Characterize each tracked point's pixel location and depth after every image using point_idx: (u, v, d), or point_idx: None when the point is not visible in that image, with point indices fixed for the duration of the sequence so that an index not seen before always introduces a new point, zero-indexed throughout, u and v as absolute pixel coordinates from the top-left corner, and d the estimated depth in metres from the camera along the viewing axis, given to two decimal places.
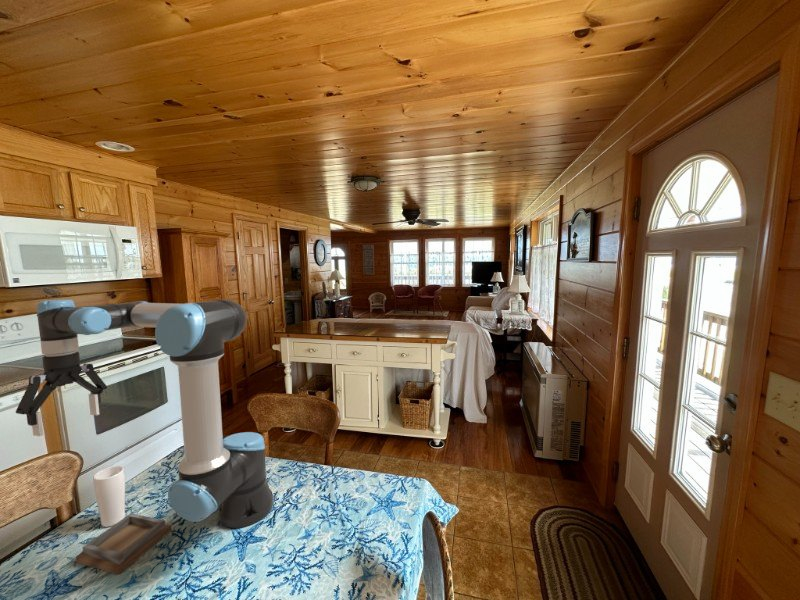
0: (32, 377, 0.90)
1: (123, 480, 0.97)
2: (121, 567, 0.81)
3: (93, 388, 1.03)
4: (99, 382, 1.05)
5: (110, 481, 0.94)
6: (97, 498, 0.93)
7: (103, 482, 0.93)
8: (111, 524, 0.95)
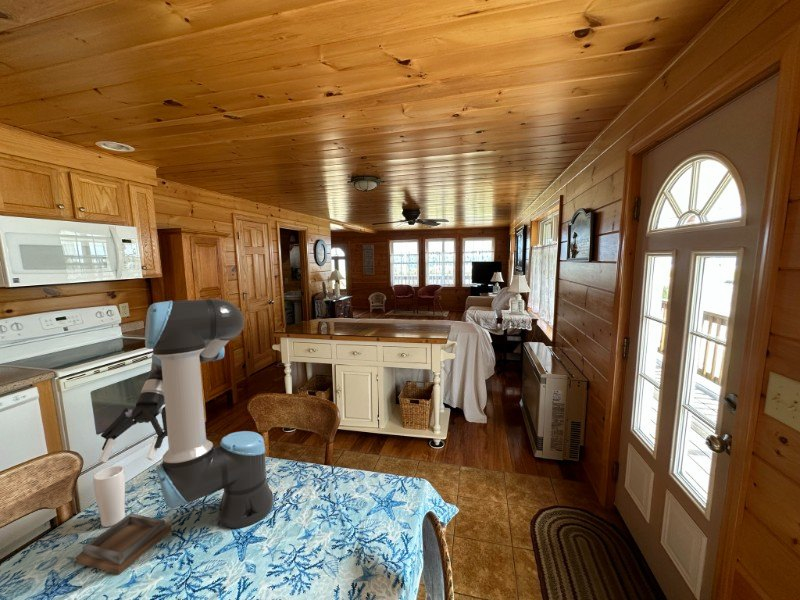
0: None
1: (123, 480, 0.97)
2: (121, 567, 0.81)
3: (156, 429, 1.09)
4: (164, 425, 1.10)
5: (110, 481, 0.94)
6: (97, 498, 0.93)
7: (103, 482, 0.93)
8: (111, 524, 0.95)
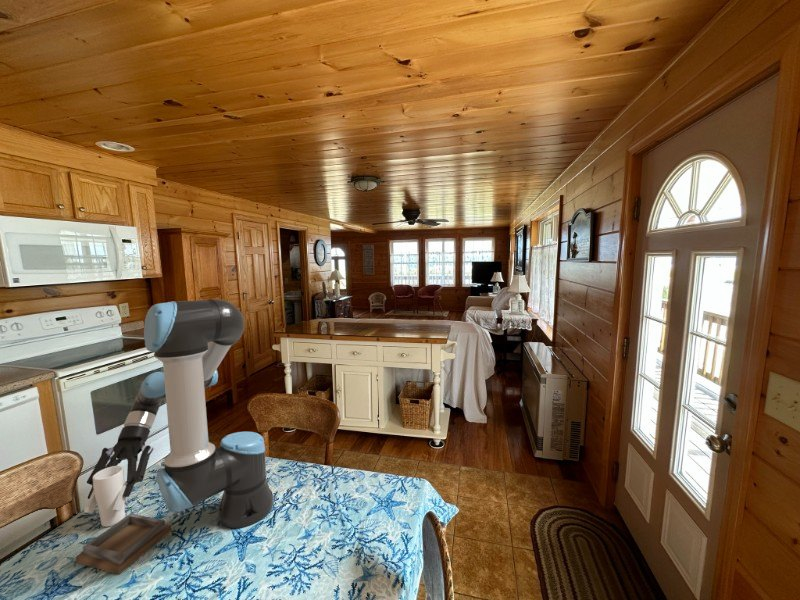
0: None
1: (122, 480, 0.97)
2: (121, 567, 0.81)
3: (129, 474, 0.99)
4: (138, 469, 1.00)
5: (109, 481, 0.93)
6: (97, 498, 0.93)
7: (103, 482, 0.93)
8: (111, 524, 0.95)
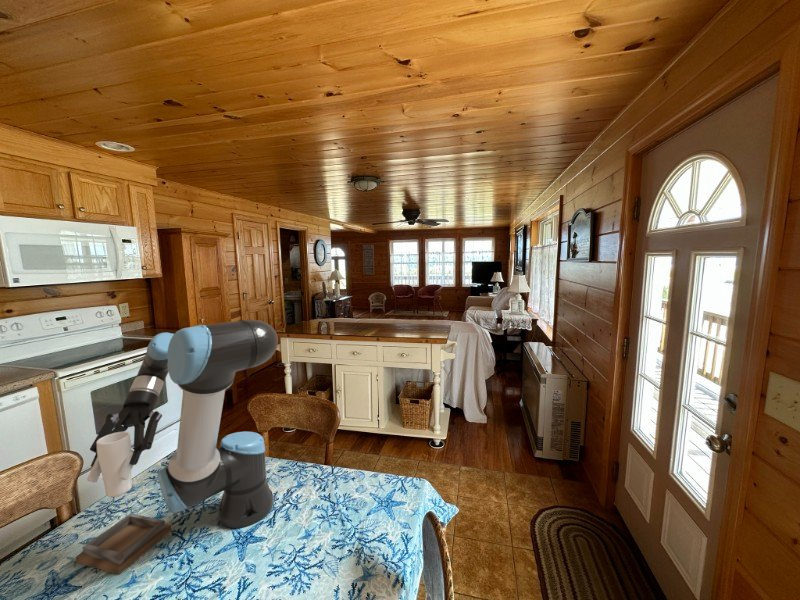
0: None
1: (129, 446, 0.88)
2: (121, 567, 0.81)
3: (136, 440, 0.90)
4: (145, 435, 0.91)
5: (115, 446, 0.85)
6: (101, 465, 0.85)
7: (108, 447, 0.84)
8: (117, 494, 0.86)
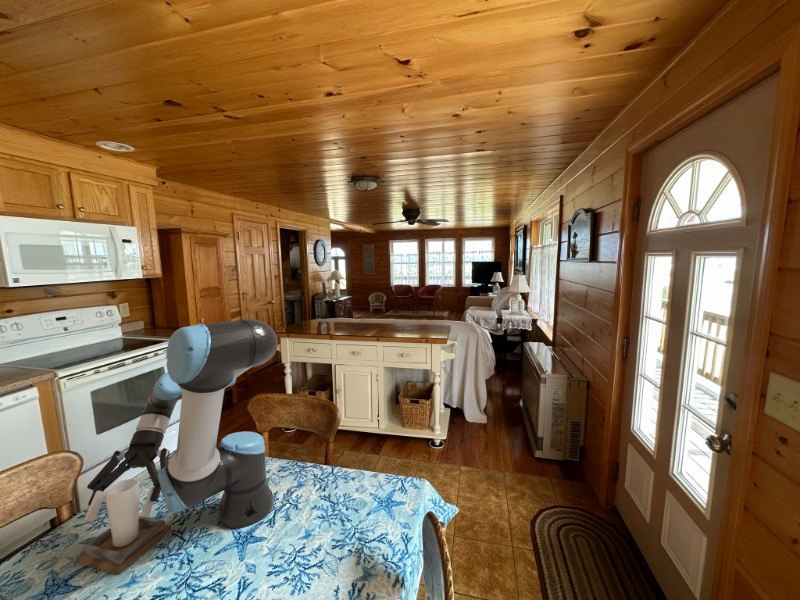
0: None
1: (138, 495, 0.88)
2: (121, 567, 0.81)
3: (153, 478, 0.90)
4: None
5: (124, 496, 0.85)
6: (109, 515, 0.84)
7: (117, 497, 0.84)
8: (124, 544, 0.86)
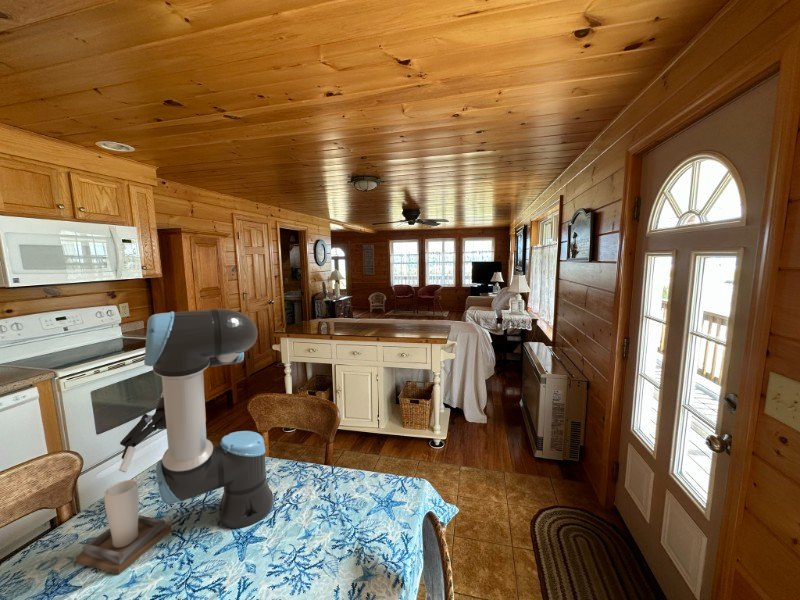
0: None
1: (137, 496, 0.88)
2: (121, 567, 0.81)
3: None
4: None
5: (123, 498, 0.85)
6: (108, 516, 0.84)
7: (116, 499, 0.84)
8: (124, 545, 0.86)
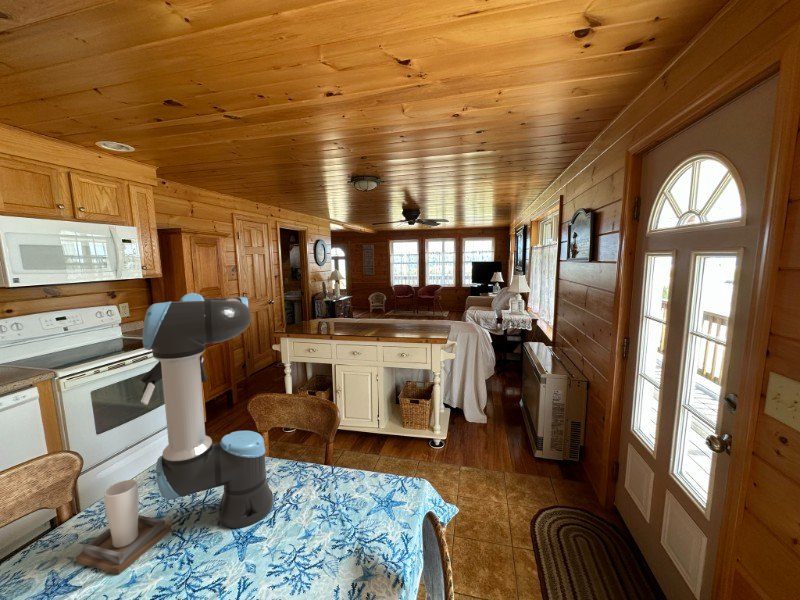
0: None
1: (136, 496, 0.88)
2: (121, 567, 0.81)
3: None
4: None
5: (123, 498, 0.84)
6: (108, 516, 0.84)
7: (115, 499, 0.84)
8: (124, 545, 0.86)
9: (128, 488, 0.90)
